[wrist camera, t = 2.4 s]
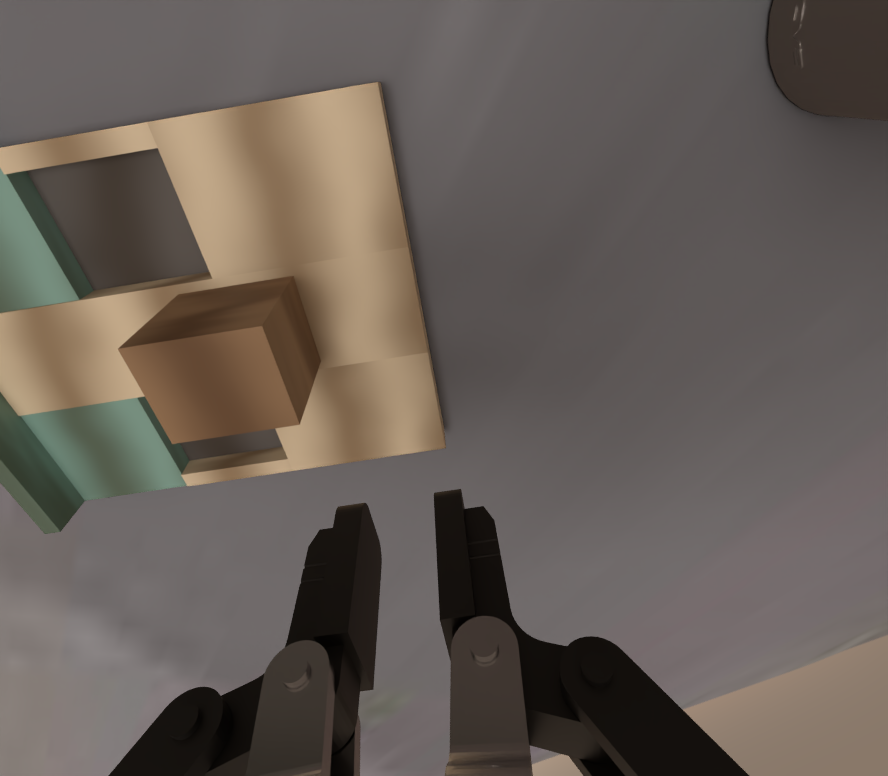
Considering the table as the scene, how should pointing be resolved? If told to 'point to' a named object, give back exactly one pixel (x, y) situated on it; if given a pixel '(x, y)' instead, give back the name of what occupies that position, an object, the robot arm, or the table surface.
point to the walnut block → (226, 360)
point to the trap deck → (201, 268)
